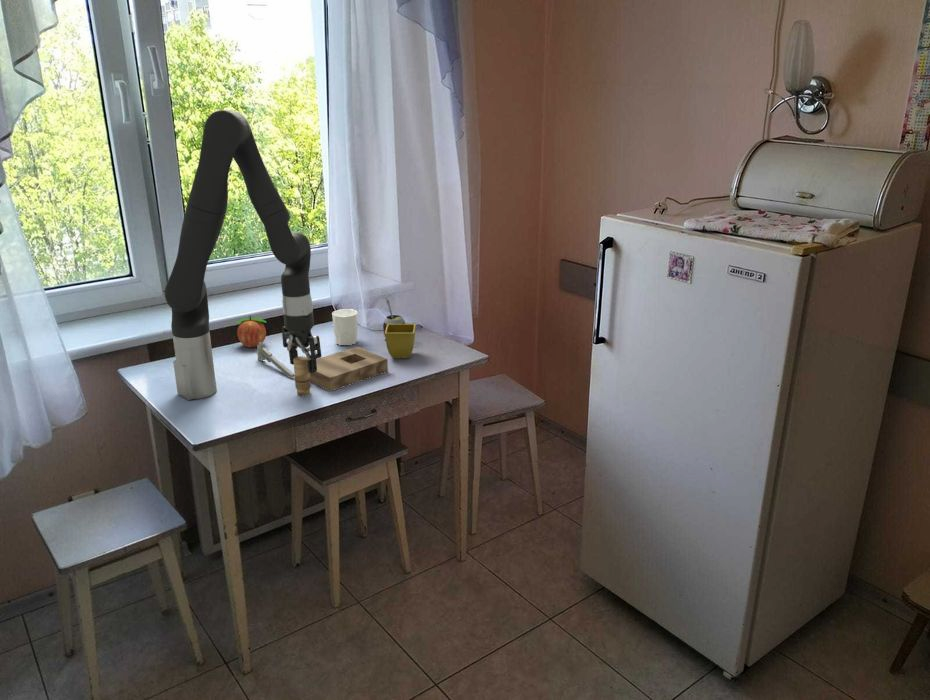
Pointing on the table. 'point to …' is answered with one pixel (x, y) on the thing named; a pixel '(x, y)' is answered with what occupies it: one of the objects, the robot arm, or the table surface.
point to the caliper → (272, 359)
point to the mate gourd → (392, 318)
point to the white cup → (345, 326)
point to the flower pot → (400, 339)
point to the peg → (302, 375)
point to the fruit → (251, 331)
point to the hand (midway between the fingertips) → (303, 367)
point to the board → (347, 368)
